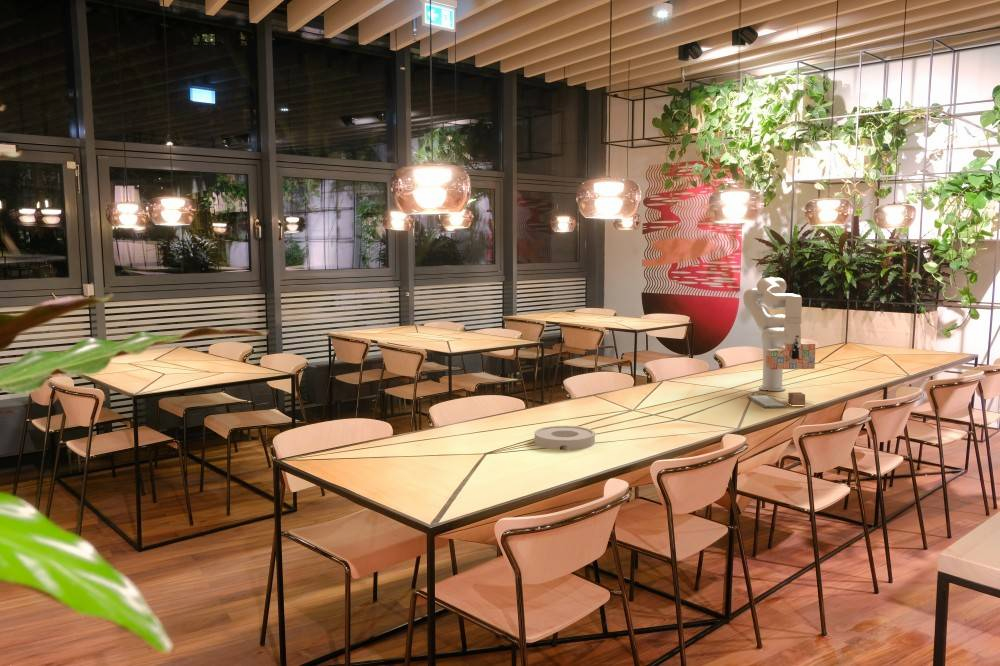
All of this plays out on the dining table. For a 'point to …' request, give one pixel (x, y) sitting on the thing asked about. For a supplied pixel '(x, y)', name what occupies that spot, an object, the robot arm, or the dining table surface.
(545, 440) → the ashtray
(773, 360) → the stack of blocks
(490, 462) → the dining table surface
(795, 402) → the walnut cube
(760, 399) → the blueprint board
